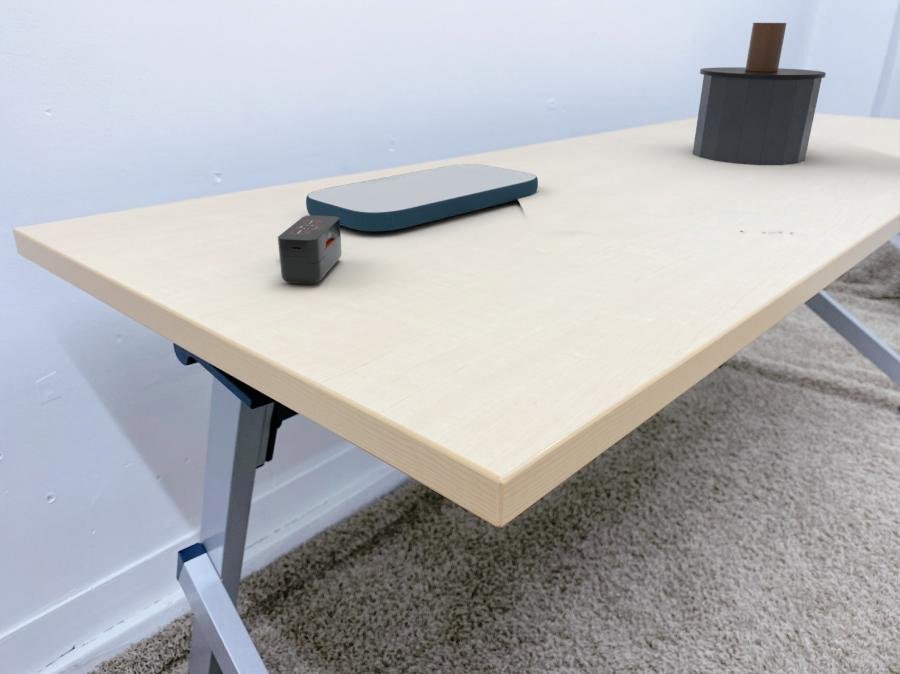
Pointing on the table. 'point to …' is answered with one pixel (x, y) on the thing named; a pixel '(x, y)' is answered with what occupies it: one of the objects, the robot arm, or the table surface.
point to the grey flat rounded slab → (420, 196)
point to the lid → (764, 57)
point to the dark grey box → (309, 249)
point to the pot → (755, 120)
